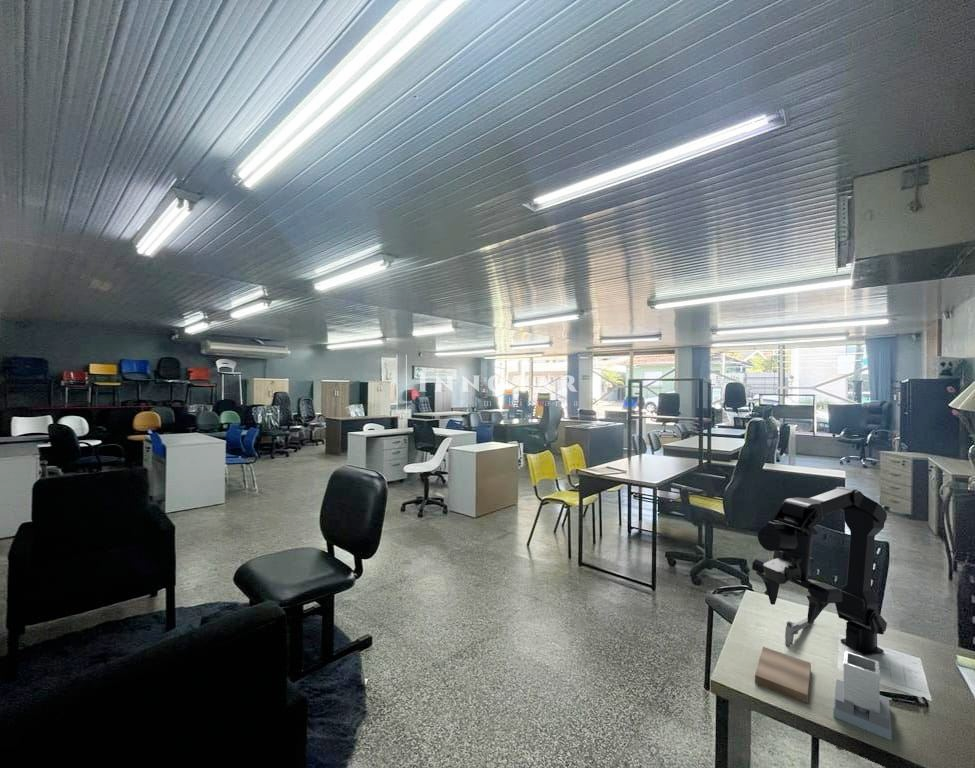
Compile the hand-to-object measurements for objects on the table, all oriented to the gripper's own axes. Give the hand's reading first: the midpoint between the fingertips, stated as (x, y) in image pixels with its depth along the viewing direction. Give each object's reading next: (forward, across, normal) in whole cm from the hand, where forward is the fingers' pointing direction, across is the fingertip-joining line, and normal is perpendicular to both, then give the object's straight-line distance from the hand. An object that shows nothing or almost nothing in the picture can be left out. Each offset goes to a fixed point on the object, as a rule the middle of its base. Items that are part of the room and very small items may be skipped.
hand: (790, 613), depth 104 cm
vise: (+14, +15, +3) cm, 20 cm away
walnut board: (+15, +1, -2) cm, 15 cm away
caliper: (+12, -10, +20) cm, 26 cm away
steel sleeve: (+10, +16, 0) cm, 19 cm away
